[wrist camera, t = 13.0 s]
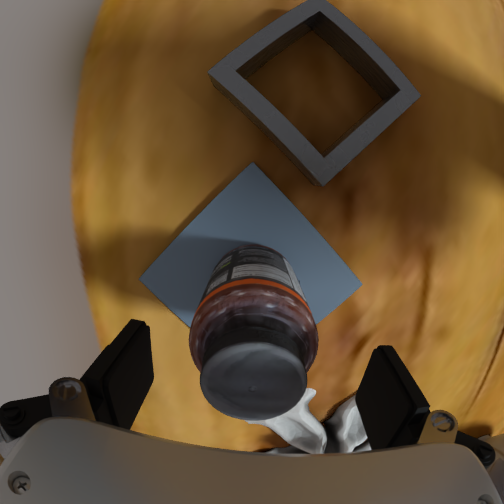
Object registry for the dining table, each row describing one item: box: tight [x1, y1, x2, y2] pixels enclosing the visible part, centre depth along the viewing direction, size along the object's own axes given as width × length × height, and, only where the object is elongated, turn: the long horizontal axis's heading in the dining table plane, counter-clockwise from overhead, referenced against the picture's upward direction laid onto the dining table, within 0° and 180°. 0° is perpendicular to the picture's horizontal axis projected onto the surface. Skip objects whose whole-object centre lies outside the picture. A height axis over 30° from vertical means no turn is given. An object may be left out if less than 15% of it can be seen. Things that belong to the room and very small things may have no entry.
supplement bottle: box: [189, 244, 319, 421], centre depth 15 cm, size 6×6×11 cm
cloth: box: [245, 388, 371, 454], centre depth 23 cm, size 22×19×6 cm
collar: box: [207, 0, 421, 186], centre depth 16 cm, size 10×10×3 cm
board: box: [139, 162, 363, 328], centre depth 21 cm, size 12×12×1 cm
